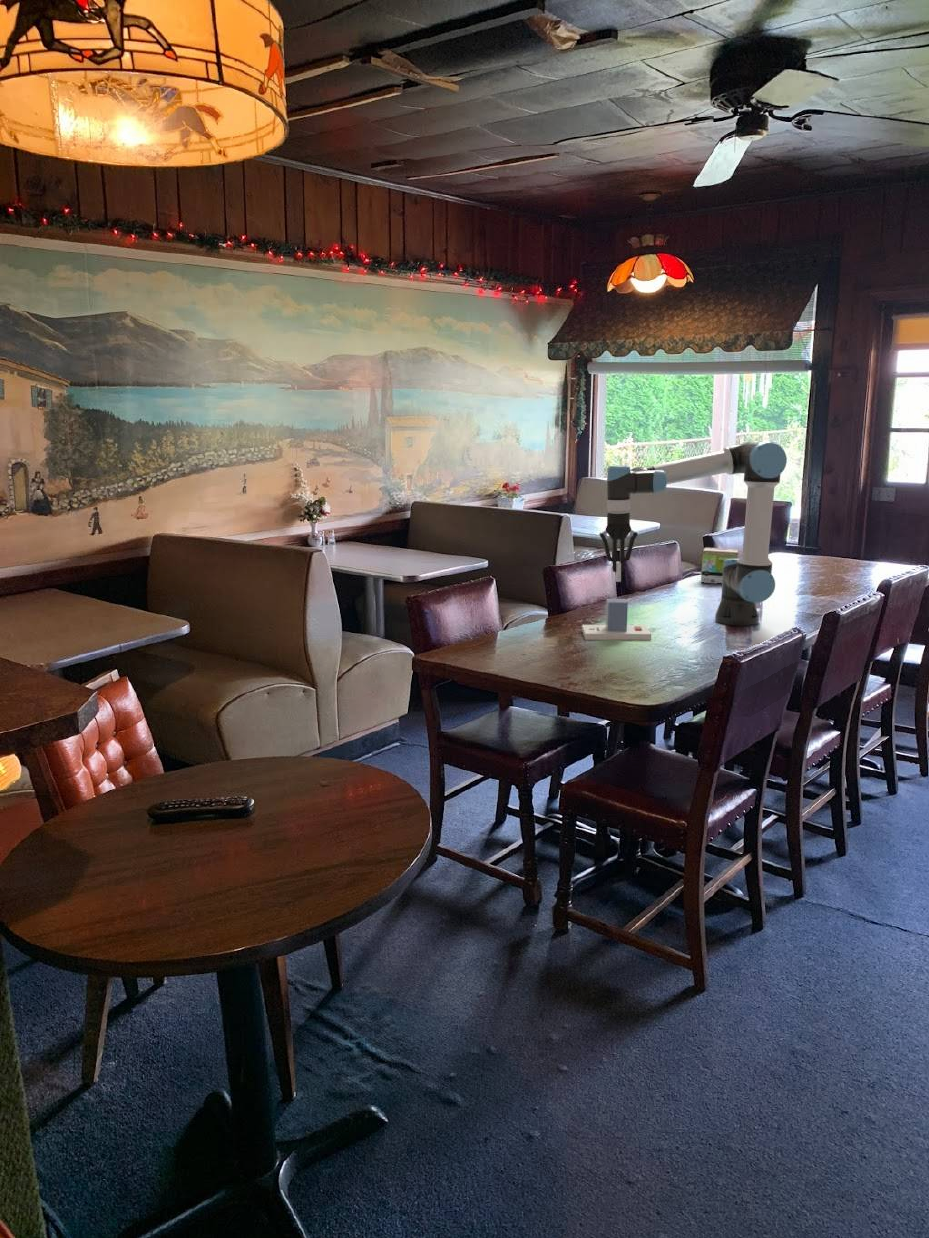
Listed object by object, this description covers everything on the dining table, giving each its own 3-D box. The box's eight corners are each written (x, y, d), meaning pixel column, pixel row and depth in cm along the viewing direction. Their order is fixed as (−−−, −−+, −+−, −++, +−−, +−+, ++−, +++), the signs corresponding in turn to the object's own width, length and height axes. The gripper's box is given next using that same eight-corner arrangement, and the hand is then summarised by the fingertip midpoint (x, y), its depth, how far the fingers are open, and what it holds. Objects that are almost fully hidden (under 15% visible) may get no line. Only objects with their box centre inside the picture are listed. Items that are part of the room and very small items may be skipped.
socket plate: (645, 630, 325) (645, 623, 324) (651, 639, 312) (651, 632, 312) (582, 630, 326) (582, 623, 325) (585, 639, 313) (585, 632, 313)
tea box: (700, 583, 410) (702, 550, 407) (702, 579, 419) (704, 546, 416) (736, 585, 405) (738, 551, 402) (737, 581, 415) (739, 548, 411)
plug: (624, 632, 322) (625, 598, 319) (626, 637, 316) (627, 602, 313) (605, 632, 322) (606, 598, 320) (607, 637, 316) (608, 602, 314)
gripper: (636, 510, 317) (635, 578, 322) (597, 511, 317) (597, 579, 322) (639, 512, 310) (639, 582, 315) (600, 513, 310) (600, 583, 315)
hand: (618, 581), depth 319 cm, fingers closed
